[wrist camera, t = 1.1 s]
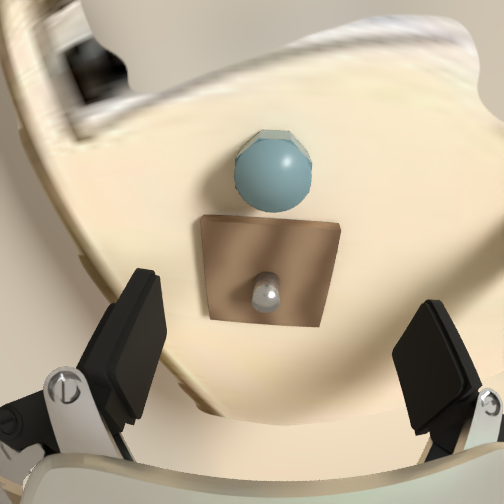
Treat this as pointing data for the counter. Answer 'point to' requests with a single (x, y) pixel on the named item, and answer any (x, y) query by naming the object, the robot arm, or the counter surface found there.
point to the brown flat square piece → (268, 267)
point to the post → (266, 292)
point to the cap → (273, 171)
